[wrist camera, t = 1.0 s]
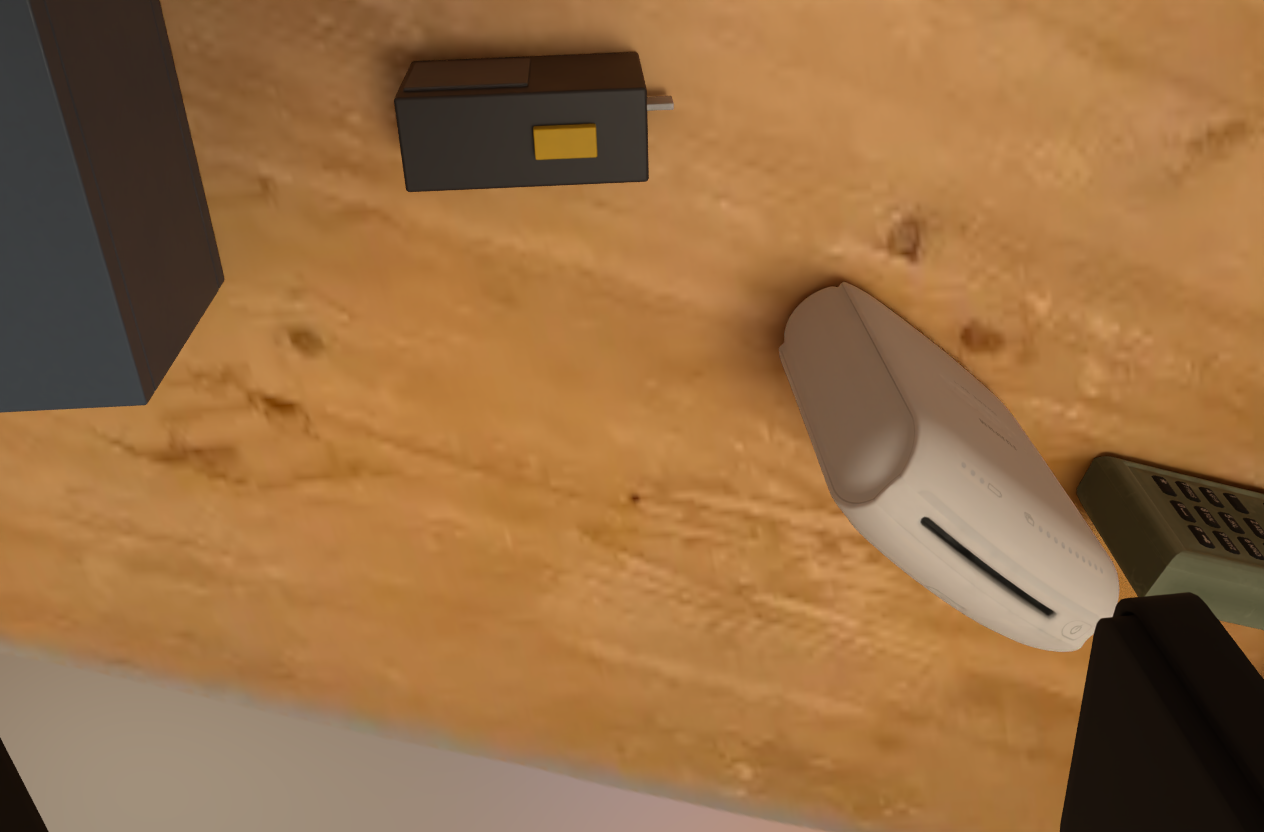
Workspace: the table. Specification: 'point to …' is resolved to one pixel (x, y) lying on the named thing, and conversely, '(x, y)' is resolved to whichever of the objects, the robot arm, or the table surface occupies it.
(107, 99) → the cabinet
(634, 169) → the box with yellow tab
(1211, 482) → the handheld radio
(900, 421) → the photo printer
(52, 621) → the table surface
